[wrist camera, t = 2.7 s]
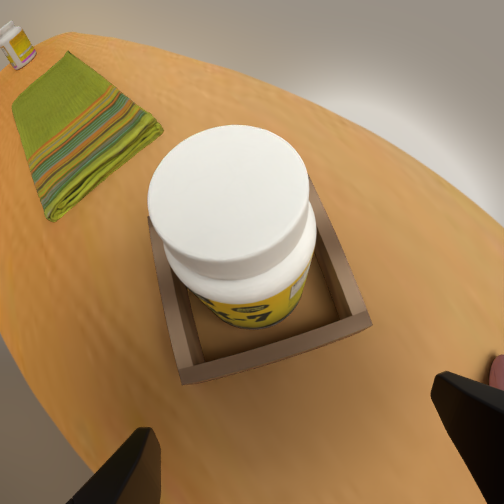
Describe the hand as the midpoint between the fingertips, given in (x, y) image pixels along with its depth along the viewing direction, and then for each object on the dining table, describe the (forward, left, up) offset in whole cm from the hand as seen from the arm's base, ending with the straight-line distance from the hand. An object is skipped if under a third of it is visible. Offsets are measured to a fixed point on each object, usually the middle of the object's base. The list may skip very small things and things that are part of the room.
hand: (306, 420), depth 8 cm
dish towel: (+25, +35, -13) cm, 45 cm away
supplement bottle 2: (+7, +4, -13) cm, 15 cm away
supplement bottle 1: (+48, +69, -13) cm, 85 cm away
